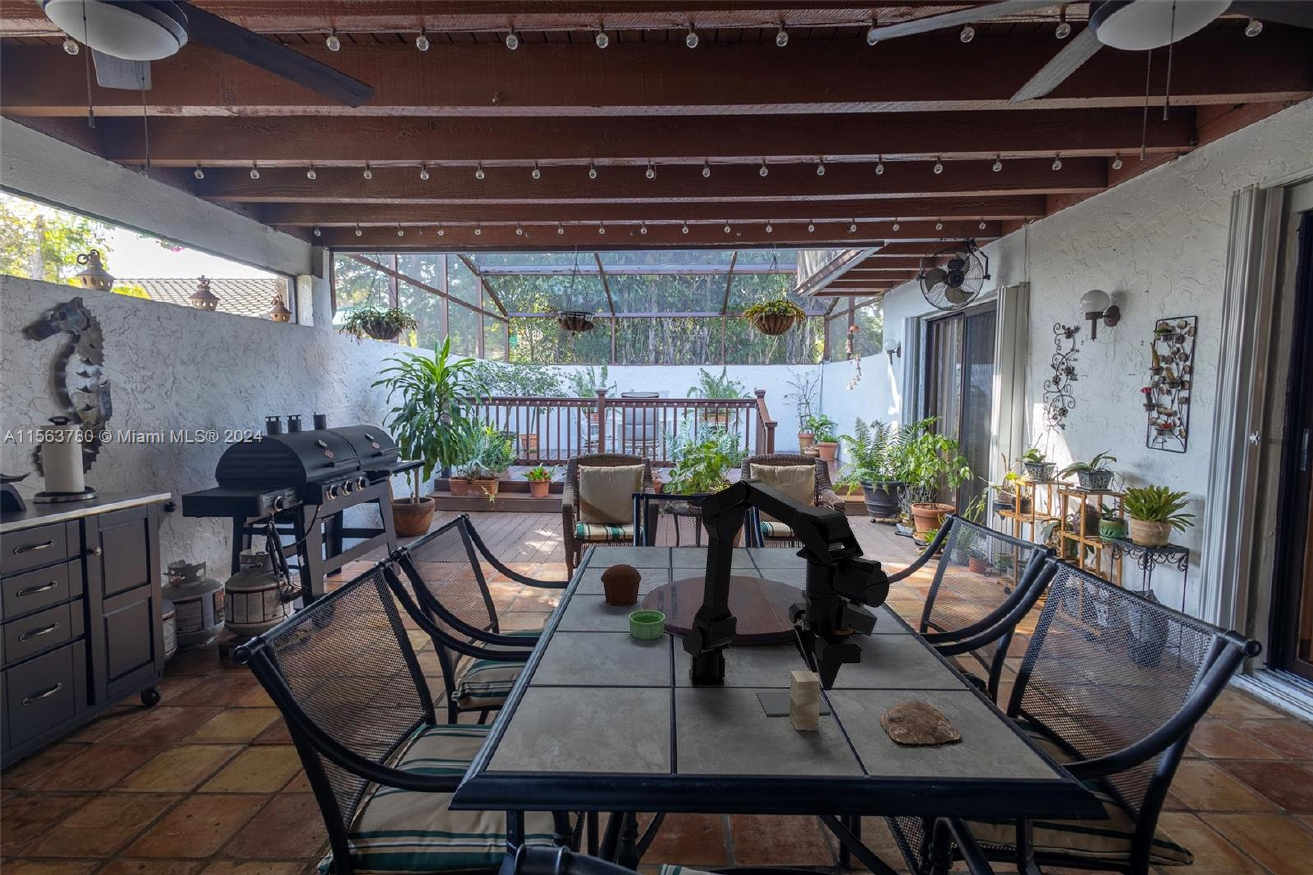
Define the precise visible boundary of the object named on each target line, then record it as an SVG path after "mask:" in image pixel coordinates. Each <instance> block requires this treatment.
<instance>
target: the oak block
mask: <svg viewBox="0 0 1313 875" xmlns="http://www.w3.org/2000/svg"><path fill="white" fill-rule="evenodd" d="M820 683H821V680H820V678H818V677H817V675H816V673H812V672H811V670H791V671H790V690H789V691H790V715H789V720H790V721H791V724H792V725H793V727H794V729H796V730H806V731H819V725H820V724H819V723H820V722H819V720H820V719H819V718H820V714H819V695H820V693H821V691H820V690H821V689H820V688H821V684H820ZM809 729H810V730H809ZM796 730H795V731H796Z"/></svg>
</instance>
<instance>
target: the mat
mask: <svg viewBox="0 0 1313 875" xmlns="http://www.w3.org/2000/svg"><path fill="white" fill-rule="evenodd" d="M756 697H757V698H758V700H759V703H760V704H761V707H762V709H763V710H764V713H765V715H766V717H777V716H776V715H785V716H790V690H789V691H788V690H785V691H758V692H756ZM774 715H775V716H774ZM819 715H831V711H830V709H829V707H828V706H827V705H826V703H825V702H824V700H823V699H822V696H820V694H819Z"/></svg>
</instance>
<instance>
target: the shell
mask: <svg viewBox="0 0 1313 875" xmlns="http://www.w3.org/2000/svg"><path fill="white" fill-rule="evenodd" d="M879 721H880V724H881V727H882V729H883V731H884V730H885V731H884V732H885V733H886V734H887V733H888V734H889V735H888V734H887V735H888V736H889V738H891V739H892V740H893V742H895V743H896V742H897V743H896V744H903V745H904V744H905V745H906V746H909V745H911V746H912V747H917V746H918V748H919V746H921V747H931V746H933V747H937V746H941V745H953V744H957V743H960V742H961V739H962V735H961V734H960V731H959V730H958V728H957V727H956V726H955V725H954V724H953V722H952V721H951V720H950V719H949V718H948V717H947V716H945V715H944V714H943V713H942V712H941V711H940V710H939V709H937V708H936V707H935V706H934V705H930V704H928V703H926V702H919V701H907V702H902V703H898V704H895V705H893V706H892V707H889V708H887V709H886V710H885V712H883V713H882V714H881V716H880V718H879Z"/></svg>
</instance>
